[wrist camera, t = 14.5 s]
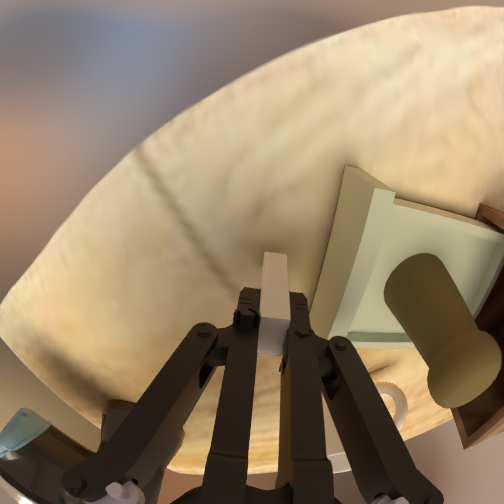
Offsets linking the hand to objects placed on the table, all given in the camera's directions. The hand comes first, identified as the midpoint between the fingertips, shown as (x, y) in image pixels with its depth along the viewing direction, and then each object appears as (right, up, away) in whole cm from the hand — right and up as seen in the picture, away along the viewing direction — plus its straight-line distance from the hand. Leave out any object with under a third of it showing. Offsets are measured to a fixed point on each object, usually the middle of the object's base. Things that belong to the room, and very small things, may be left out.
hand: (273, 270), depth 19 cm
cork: (+12, -1, 0) cm, 12 cm away
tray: (+13, -1, +2) cm, 13 cm away
